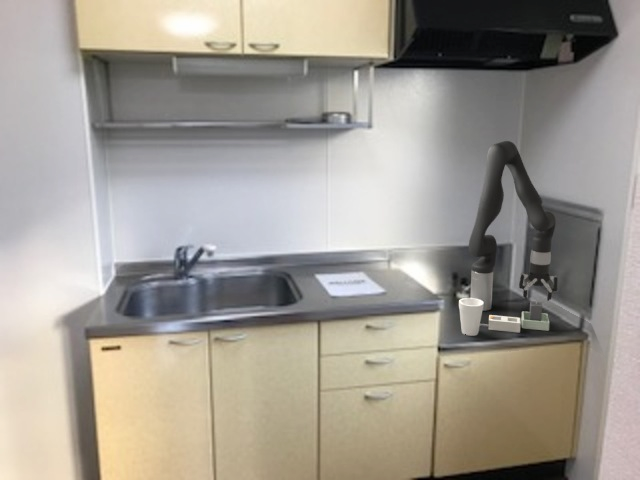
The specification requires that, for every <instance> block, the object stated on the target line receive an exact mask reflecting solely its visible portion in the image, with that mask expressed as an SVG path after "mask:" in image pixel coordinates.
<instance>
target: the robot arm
mask: <svg viewBox="0 0 640 480" xmlns="http://www.w3.org/2000/svg"><path fill="white" fill-rule="evenodd" d="M505 167H506V168H508V170H509V171H510V173H511V175H512V178H513V183H514V189H515V192H516V195H517V197H518V198H519V201H520V202H521V204H522V206H523V207H524V209H525V211H526V214H527V217H528V220H529V223H530V224H531V226H532V228H533V229H534V230H535V231H536V232H535V234H534V237H533V239H532V242H531V243H532V244H531V252H530V258H529V259H530V260H529V270H528V274H525V273H523V272H521V273H520V277H519V281H518V282H519V284H518V287H519V289H520V290H523V291H522V292H523V293H522V295H523V296H522V297H523V298H524V300H527V299H528V289H530V288H531V287H532V286H534V287H537V286H538V287H543V286H544V287H545V288H546V290H547V293H546V294H547V295H546V296H547V297H546V300H547V301H548V302H549V301H550V300H552V294H553V292H557V291H558V275H551V276H550V270H551V262H552V258H551V257H552V255H551V251H552V239H553V236H554V233H555V228H556V217H555V214H554V213H553V212H551V211H547V210H546V211H545V210H544V207H543V199H542V198H541V196H540V194H539V193H538V191H537V189H536V186H534V184H533V181H531V179H530V176H529V174H528V172H527V169H526V167H525V164H524V162H523V159H522V157H521V154H520V151H519V149H518V148H517V145H516V144H515V143H514V142H512V141H510V140H503V141H500V142H497V143H494V144H492V145H491V146H490V147H489V149H488V151H487V156H486V163H485V174H484V178H483V179H484V180H483V184H482V187H481V188H482V189H481V194H480V198H479V203H478V207H477V212H476V218H475V222H474V225H473V227H472V230H471V234H470V236H469V237H470V238H469V242H468V252H469V254H470V256H471V257H474V258H479V257H480V258H479V259H478V260H476V261H475V262H473V263H472V265H471V274H470V276H471V277H470V279H471V280H470V297H469V298H475V299H479V300H482V301H483V302H484V304H483V310H482V312H483V311H489V310H491V309H492V301H493V283H494V282H493V281H494V269H495V266H496V261H497V259H496V258H497V252H498V251H497V250H498V242H497V239H496V238H495V236H494V235H492V234H486V233H487V230H488V229H489V227H490V226H491V225H492V223H494V221H495V220H496V219H497V217H499V214H500V212H501V211H502V208H503V202H504V197H505V193H504V188H503V184H502V183H503V182H502V179H503V175H504V174H503V173H504V170H505ZM526 279H528V281H527V282H526V284H524V280H526ZM550 280H551V281H552V284H553V286H552V287H551V286H550V285H549V283H548V282H549V281H550Z"/></svg>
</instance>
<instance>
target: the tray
mask: <svg viewBox="0 0 640 480" xmlns="http://www.w3.org/2000/svg"><path fill="white" fill-rule="evenodd" d="M529 314H530V311H521V317H520V322H521V328H522V329H526V330H538V331H539V330H540V331H546V332H547V331H548V332H549V331H550V319H549V314H548V313H545V312H544V313H543V312H542V317H541V321H533V320H530V319H529Z"/></svg>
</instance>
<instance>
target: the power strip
mask: <svg viewBox="0 0 640 480" xmlns="http://www.w3.org/2000/svg"><path fill="white" fill-rule="evenodd" d="M521 325H522V322H521V317H517V316H506V315H504V316H503V315H496V314H495V315H494V314H493V315H492V314H489V316H488V324H487V323H486V324H485V323H480V326H479V327H483V328H487V329H488V330H490V331H498V332H500V331H501V332H508V333H517V334H519V333H521Z"/></svg>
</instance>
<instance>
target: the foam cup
mask: <svg viewBox="0 0 640 480" xmlns="http://www.w3.org/2000/svg"><path fill="white" fill-rule="evenodd" d="M483 304H484V302H483V301H482V300H479V299H475V298H470V297H463V298H461V299H459V300H458V308H459V318H460V327H461V333H462V335H465V334H466V335H465V336H469V337H470V336H473V337H474V336H477V335H479V331H480V327H481V326H480V324H481V320H482V315H483V311H482V310H483Z"/></svg>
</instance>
